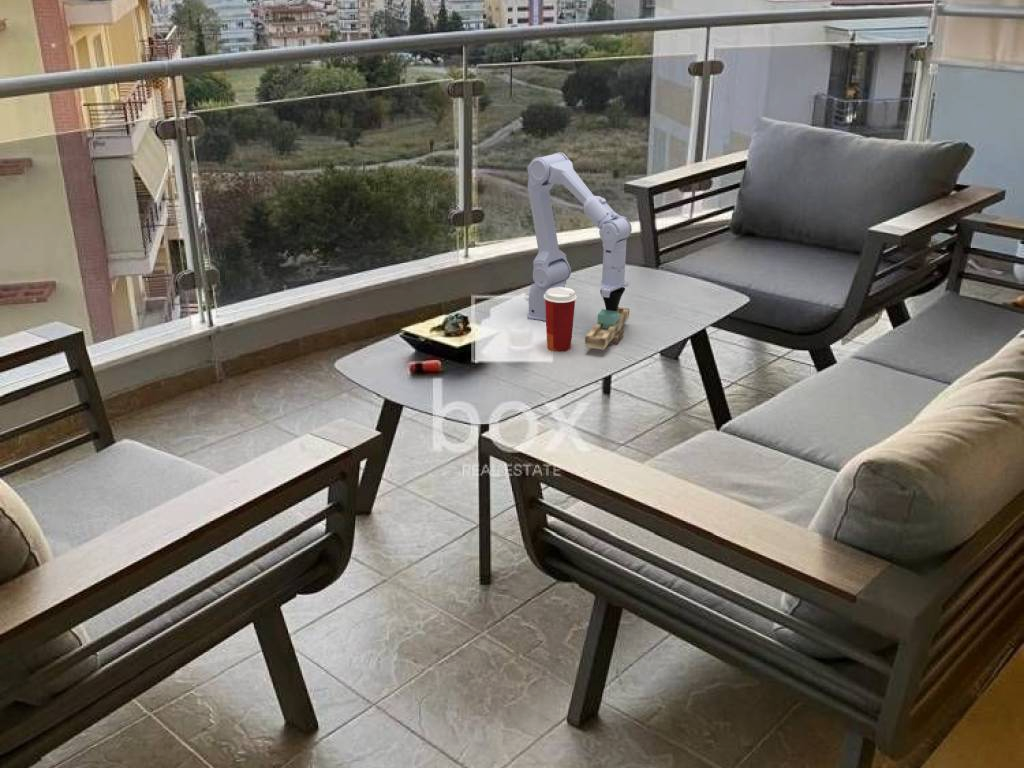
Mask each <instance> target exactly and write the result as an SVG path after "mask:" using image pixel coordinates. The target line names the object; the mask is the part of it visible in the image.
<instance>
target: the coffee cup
mask: <svg viewBox="0 0 1024 768" xmlns="http://www.w3.org/2000/svg"><path fill="white" fill-rule="evenodd" d="M577 298H578V297H577V295H576V291H575V290H574V289H572V288H570V287H566V286H565V287H555V288H550V289H548V290H547V291H546V292H545V294H544V299H545V307H546V321H545V326H546V327H545V328H546V346H547V350H549V351H553V352H556V353H557V352H558V353H559V352H560V353H561V352H562V351H563V352H568V351H570V349H571V345H572V340H573V339H572V337H573V328H574V318H575V317H574V315H575V308H576V307H575V306H576V300H577Z"/></svg>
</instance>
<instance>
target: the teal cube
mask: <svg viewBox="0 0 1024 768" xmlns="http://www.w3.org/2000/svg"><path fill="white" fill-rule="evenodd" d="M618 317H619V311H612V310H606V308H605V309H604V308H602V309H601V310H600V311H599V313H598V314H597V322H598V323H601V324H603V326H602V328H606V329H609V327H610V326H611V325H615V324H616V322H617V321H618Z"/></svg>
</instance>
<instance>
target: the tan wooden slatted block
mask: <svg viewBox="0 0 1024 768" xmlns="http://www.w3.org/2000/svg"><path fill="white" fill-rule="evenodd" d="M617 311H619V317H618V321H617V322H616V324H615V325H611V326H610V327H609V329H606V328H602V326H603V324H601V323H598V321H597V322H596V324H595V325H594V326H593V327H592V328H591V330H590V331H589V332H588V333H587V334H586V336H585V337H584V348H590V349H595V350H601V351H602V350H605V349H606V348H607V347H608V345H615V346H618V345H619V344H620V342H621V341H622V339H623V338H624V331H625V330H624V329H621V328H623V326H624V325H625V324H626V322H627V321H628V320H629V319H630V308H627V307H619V306H618V310H617Z"/></svg>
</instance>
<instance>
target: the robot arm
mask: <svg viewBox="0 0 1024 768" xmlns="http://www.w3.org/2000/svg"><path fill="white" fill-rule="evenodd" d="M526 169H527V173H528V181H527V191H528V196H529V203H530V208H531V216H532V220H533V227H534V232H535V239H536V240H535V241H536V245H537V251H538V253H537V255H536V256H535V258H534V259H533V262H532V264H533V271H532V279H533V282H534V283H532V284H531V286H530V288H529V292H528V315H527V319H531V320H539V321H545V322H546V307H545V299H544V294H545V292H546V291H547V290H548V289H550V288H555V287H565V288H566V285H567V281H568V279H570V277H571V273H572V268H571V265H570V263H569V262H568V258H567V255H566V253H565V252H563V251H562V250H561V249H560V248H559V243H558V235H557V229H556V225H555V218H554V213H553V212H554V211H553V205H552V199H551V193H550V191H551V189H552V188H553V186H554V185H563V186H564V187H565V188H566V189H567V190H568V191H569V192H570V193H571V194H572V195H573V196H574V197H575V198H576V199H577V200H578V201H579V202H580V203H581V204H583V213H584V214H585V215H586V216H587V217H588V218H589V220H590V221H591V222H592V223H593V224H594V226H596V228H597V229H599V232H598V233H599V234H598V235H599V237H600V239H601V241H602V247H603V254H602V271H601V272H602V276H601V281H600V284H601V289H600V290H599V291H600V296H601V297H602V299H603V302H604V306H605V310H612V311H617V310H618V307H619V305H620V302H621V299H622V296H623V294H624V292H625V290H626V288H627V287H629V285H630V283H629V281H626V280H625V278H626V277H625V274H626V261H627V260H626V257H627V255H626V253H627V240H628V238H629V237H630V236H631V234H632V224H631V221H630V220H629V219H628V217H626V216H623V215H619V214H618V213H617V212H615V210H614V209H612V207H611V206H610V204H608V203H607V200H606V198H604V197H602V196H600V195H595V194H593V193H592V192H591V190H590V189H589V188H588V186H587V185H586V184H585V182H584V181H583V180H582V178H581V177H580V176H579V175H578V173H577V172H576V170H575V169H574V164H573V162H572V161H571V160H570V159H569V158H568V156H567V155H566V154H565V153H564V152H560V151H559V152H555V153H552V154H548V155H545V156H541V157H539V156H538V157H535V158H533V159H532V160H531V161H530V163H529V164H528V165H527V167H526ZM625 287H626V288H625Z"/></svg>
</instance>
